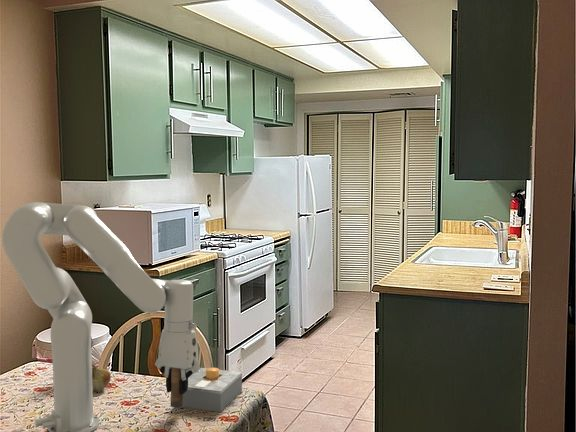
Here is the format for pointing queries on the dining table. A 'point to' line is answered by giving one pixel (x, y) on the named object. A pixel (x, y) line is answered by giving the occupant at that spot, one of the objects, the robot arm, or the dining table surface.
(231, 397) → the box
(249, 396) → the dining table surface
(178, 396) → the brown rounded rod
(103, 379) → the onion
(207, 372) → the button
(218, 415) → the dining table surface
